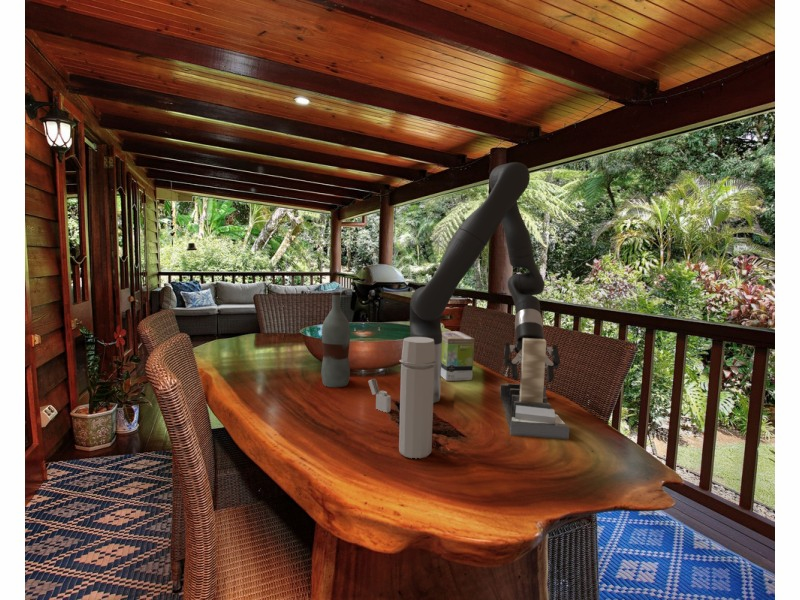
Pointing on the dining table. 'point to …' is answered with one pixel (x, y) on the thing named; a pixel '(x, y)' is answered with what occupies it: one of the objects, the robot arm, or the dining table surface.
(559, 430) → the rack
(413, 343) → the water bottle
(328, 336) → the vodka
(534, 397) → the beige tall block
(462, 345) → the tea box
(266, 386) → the dining table surface
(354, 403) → the dining table surface
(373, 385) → the lighter
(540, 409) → the offcut stack
